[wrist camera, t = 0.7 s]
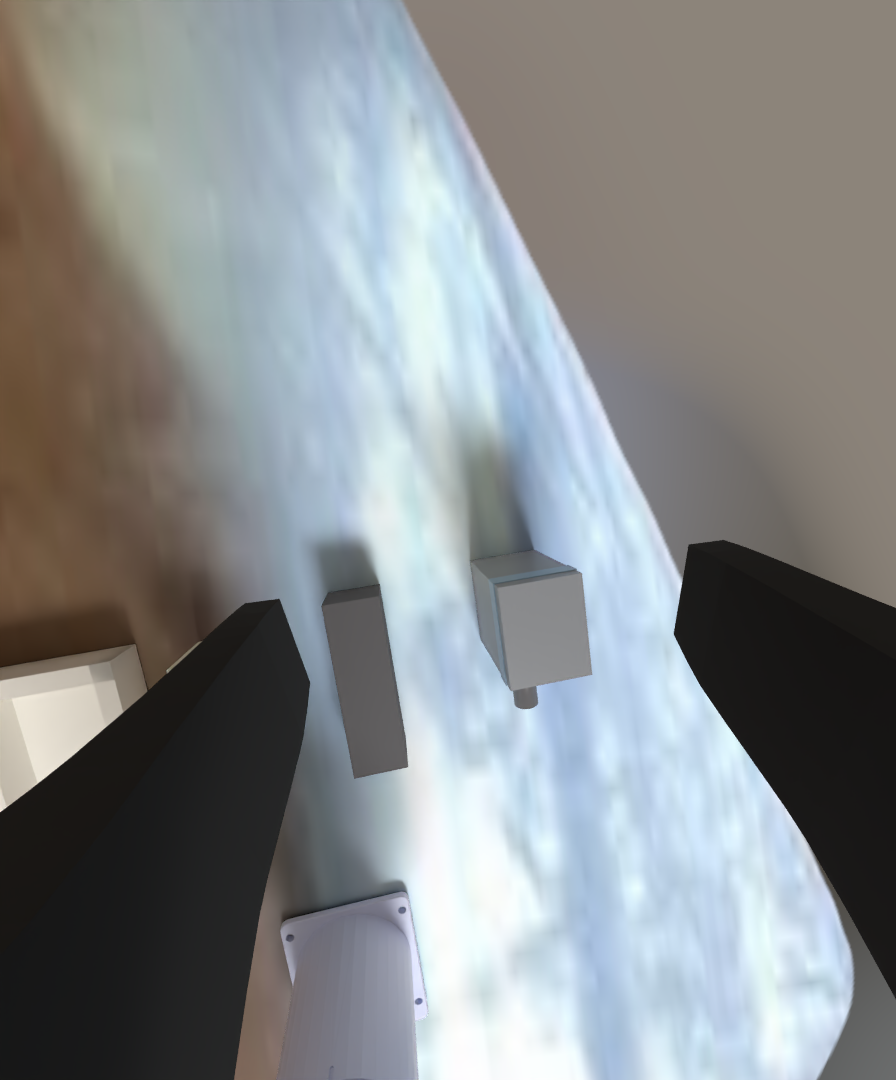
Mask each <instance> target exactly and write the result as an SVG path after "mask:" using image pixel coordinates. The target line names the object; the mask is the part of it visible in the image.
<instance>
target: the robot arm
mask: <svg viewBox="0 0 896 1080" xmlns="http://www.w3.org/2000/svg"><path fill="white" fill-rule="evenodd" d="M674 636H675V638H676V640H677V642H678V644H679V646H680V648H681V650H682V652H683V654H684V656H685V658H686V660H687V662H688V664H689V666H690V668H691V669H692V671H693V673H694V675H695V677H696V679H697V681H698V682H699V684H700V686H701V687H702V689H703V690H704V692H705V693H706V695H707V696H708V698H709V699H710V701H711V702H712V703H713V705H714V706H715V708H716V709H717V711H718V712H719V714H720V715H721V716H722V718H723V719H724V721H725V722H726V724H727V725H728V727H729V728H730V729H731V731H732V732H733V734H734V735H735V737H736V738H737V739H738V741H739V742H740V744H741V745H742V746H743V748H744V749H745V751H746V752H747V754H748V755H749V756H750V758H751V759H752V761H753V762H754V764H755V765H756V766H757V768H758V769H759V771H760V772H761V773H762V775H763V776H764V778H765V779H766V781H767V782H768V783H769V785H770V786H771V788H772V789H773V791H774V792H775V793H776V795H777V796H778V798H779V799H780V801H781V802H782V803H783V805H784V806H785V808H786V809H787V811H788V812H789V814H790V815H791V817H792V818H793V820H794V822H795V823H796V825H797V826H798V828H799V829H800V831H801V832H802V834H803V835H804V837H805V838H806V840H807V842H808V843H809V845H810V847H811V849H812V850H813V852H814V854H815V856H816V857H817V859H818V861H819V862H820V864H821V866H822V868H823V869H824V871H825V873H826V874H827V876H828V878H829V880H830V881H831V883H832V885H833V887H834V888H835V890H836V892H837V894H838V895H839V897H840V898H841V900H842V902H843V904H844V906H845V907H846V909H847V911H848V913H849V914H850V916H851V918H852V920H853V922H854V923H855V925H856V927H857V929H858V931H859V933H860V934H861V936H862V938H863V940H864V942H865V944H866V945H867V947H868V949H869V951H870V953H871V955H872V956H873V958H874V960H875V962H876V964H877V965H878V967H879V969H880V971H881V973H882V975H883V976H884V978H885V980H886V982H887V984H888V986H889V987H890V989H891V991H892V993H893V995H894V996H895V998H896V608H894V607H892V606H889V605H887V604H884V603H882V602H879V601H877V600H874V599H872V598H869V597H866V596H864V595H862V594H859V593H857V592H854V591H852V590H849V589H847V588H845V587H842V586H840V585H837V584H835V583H832V582H830V581H828V580H825V579H823V578H820V577H818V576H815V575H813V574H810V573H808V572H806V571H803V570H801V569H798V568H796V567H794V566H791V565H789V564H786V563H784V562H782V561H779V560H777V559H774V558H771V557H769V556H767V555H764V554H761V553H759V552H756V551H754V550H751V549H749V548H746V547H743V546H740V545H737V544H734V543H731V542H728V541H725V540H720V541H713V542H705V543H698V544H690V545H689V546H688V552H687V558H686V564H685V570H684V576H683V582H682V588H681V594H680V600H679V606H678V611H677V617H676V623H675V629H674ZM309 687H310V681H309V678H308V676H307V673H306V670H305V668H304V665H303V662H302V659H301V657H300V654H299V651H298V648H297V646H296V643H295V640H294V637H293V635H292V632H291V629H290V626H289V624H288V621H287V618H286V615H285V613H284V610H283V607H282V604H281V602H280V599H275V600H267V601H260V602H252V603H245V604H244V605H242V606H241V607H240V608H239V609H237V610H236V611H235V612H234V613H233V614H231V615H230V616H229V617H228V618H227V619H226V620H225V621H224V622H222V623H221V624H220V625H219V626H218V627H217V628H216V629H215V630H214V631H213V632H211V633H210V634H209V635H208V636H207V637H206V638H205V639H204V640H203V641H202V642H201V643H200V644H199V645H197V646H196V647H195V648H194V649H193V650H192V651H191V652H190V653H189V654H188V655H187V656H186V657H184V658H183V659H182V660H181V661H180V662H179V663H178V664H177V665H176V666H175V667H174V668H172V669H171V670H170V671H169V672H168V673H167V674H166V675H165V676H164V677H163V678H162V679H160V680H159V681H158V682H157V683H156V684H155V685H154V686H153V687H152V688H151V689H150V690H148V691H147V692H146V693H145V694H144V695H143V696H142V697H141V698H139V699H138V700H137V701H136V702H135V703H134V704H132V705H131V706H130V707H129V708H128V709H127V710H125V711H124V712H123V713H122V714H121V715H120V716H118V717H117V718H116V719H115V720H114V721H113V722H111V723H110V724H109V725H108V726H107V727H106V728H104V729H103V730H102V731H101V732H100V733H99V734H97V735H96V736H95V737H94V738H93V739H92V740H90V741H89V742H88V743H87V744H86V745H85V746H83V747H82V748H81V749H80V750H79V751H78V752H76V753H75V754H74V755H73V756H72V757H70V758H69V759H68V760H67V761H65V762H64V763H63V764H62V765H60V766H59V767H58V768H57V769H56V770H54V771H53V772H52V773H50V774H49V775H48V776H47V777H45V778H44V779H43V780H42V781H40V782H39V783H38V784H37V785H35V786H34V787H33V788H31V789H30V790H29V791H28V792H26V793H25V794H24V795H22V796H21V797H20V798H18V799H17V800H16V801H14V802H13V803H12V804H10V805H9V806H8V807H6V808H5V809H4V810H2V811H1V812H0V1080H234V1075H235V1068H236V1062H237V1055H238V1048H239V1041H240V1034H241V1028H242V1021H243V1014H244V1007H245V1001H246V994H247V988H248V982H249V976H250V970H251V964H252V958H253V951H254V945H255V939H256V933H257V927H258V921H259V915H260V910H261V906H262V901H263V897H264V892H265V887H266V883H267V878H268V874H269V870H270V866H271V863H272V859H273V855H274V851H275V847H276V843H277V839H278V835H279V831H280V828H281V824H282V820H283V816H284V812H285V808H286V804H287V800H288V797H289V793H290V789H291V785H292V781H293V777H294V773H295V769H296V765H297V761H298V757H299V753H300V749H301V745H302V740H303V736H304V728H305V721H306V714H307V705H308V696H309ZM400 907H404V908H400ZM280 933H281V938H282V942H283V946H284V951H285V955H286V959H287V964H288V968H289V972H290V977H291V981H292V985H293V990H292V995H291V1001H290V1007H289V1012H288V1018H287V1023H286V1029H285V1035H284V1040H283V1046H282V1051H281V1057H280V1063H279V1068H278V1074H277V1079H276V1080H418V1063H417V1045H416V1027H415V1021H418V1020H422V1019H424V1018H425V1017H427V1015H428V1003H427V998H426V992H425V987H424V981H423V975H422V970H421V964H420V959H419V953H418V948H417V942H416V936H415V931H414V925H413V920H412V914H411V908H410V903H409V897H408V895H407V894H406V893H405V892H397V893H393V894H389V895H385V896H381V897H377V898H372V899H368V900H364V901H360V902H356V903H352V904H348V905H344V906H340V907H336V908H332V909H327V910H323V911H319V912H315V913H311V914H307V915H303V916H299V917H295V918H291V919H287V920H285V921H284V922H283V923H282V925H281V929H280ZM289 934H292V936H289Z"/></svg>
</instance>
